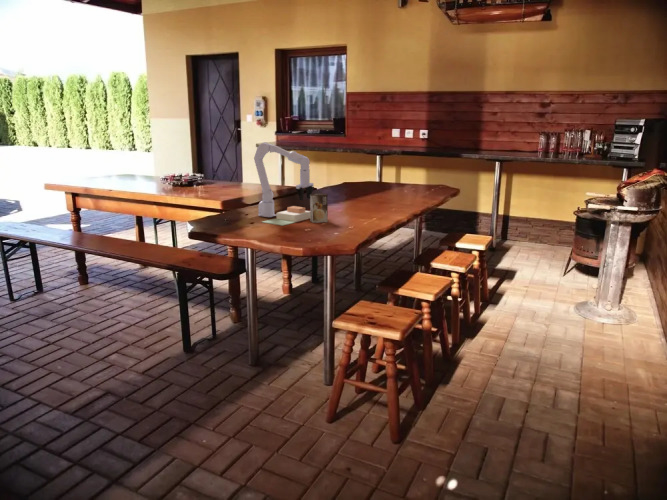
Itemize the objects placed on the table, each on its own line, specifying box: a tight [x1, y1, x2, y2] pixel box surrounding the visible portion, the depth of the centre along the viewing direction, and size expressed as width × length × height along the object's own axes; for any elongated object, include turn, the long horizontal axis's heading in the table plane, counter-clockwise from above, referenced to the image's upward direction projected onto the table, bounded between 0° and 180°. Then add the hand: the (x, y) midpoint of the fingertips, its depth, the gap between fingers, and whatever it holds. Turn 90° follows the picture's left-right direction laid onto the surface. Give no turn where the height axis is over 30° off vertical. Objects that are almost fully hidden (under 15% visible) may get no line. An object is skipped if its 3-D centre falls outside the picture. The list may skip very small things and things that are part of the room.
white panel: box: [276, 210, 310, 223], centre depth 314 cm, size 14×16×4 cm
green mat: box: [261, 218, 297, 227], centre depth 304 cm, size 16×12×1 cm
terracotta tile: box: [286, 205, 306, 213], centre depth 315 cm, size 9×6×2 cm, turn 55°
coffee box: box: [309, 193, 329, 224], centre depth 305 cm, size 9×6×16 cm
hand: (305, 199), depth 320 cm, fingers open, 7 cm apart
